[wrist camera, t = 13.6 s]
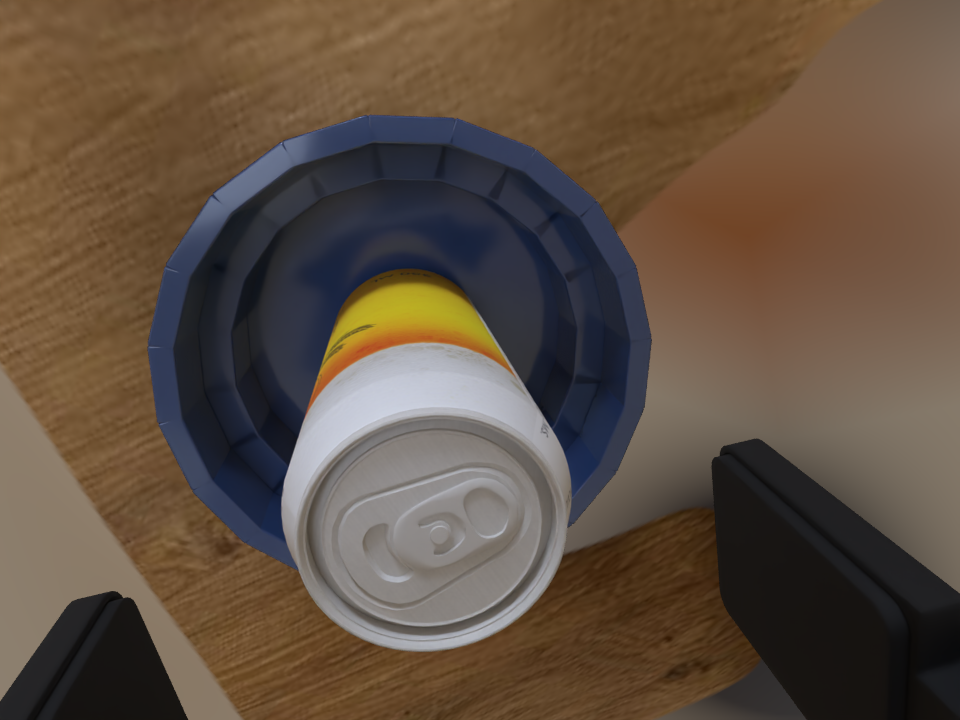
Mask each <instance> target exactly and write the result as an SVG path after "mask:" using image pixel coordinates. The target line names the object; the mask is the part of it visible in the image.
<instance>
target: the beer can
mask: <svg viewBox="0 0 960 720" xmlns="http://www.w3.org/2000/svg"><path fill="white" fill-rule="evenodd" d="M571 496H572V490H571V477H570V472H569V468H568V463H567V460H566V457H565V454H564V451H563V449H562V447H561V445H560V443H559V441H558V439H557V437H556V435H555V434H554V432H553V430H552V429H551V427H550V426H549V424H548V422H547V421H546V419H545V418H544V416H543V414H542V413H541V411H540V410H539V408H538V406H537V405H536V403H535V402H534V400H533V398H532V397H531V395H530V394H529V392H528V390H527V389H526V387H525V386H524V384H523V383H522V381H521V379H520V378H519V376H518V375H517V373H516V371H515V370H514V368H513V367H512V365H511V363H510V362H509V360H508V359H507V357H506V355H505V354H504V352H503V351H502V349H501V347H500V346H499V344H498V343H497V341H496V339H495V338H494V336H493V335H492V333H491V331H490V330H489V328H488V327H487V325H486V323H485V322H484V320H483V319H482V317H481V315H480V314H479V312H478V311H477V309H476V307H475V306H474V304H473V303H472V301H471V300H470V298H469V297H468V296H467V295H466V294H465V292H464V291H463V290H462V289H460V288H459V287H458V286H457V285H456V284H454V283H453V282H452V281H450V280H448V279H447V278H445V277H443V276H441V275H438V274H436V273H433V272H430V271H426V270H420V269H397V270H391V271H387V272H384V273H381V274H379V275H376V276H374V277H372V278H370V279H369V280H367V281H365V282H364V283H363V284H361V285H360V286H359V287H357V288H356V289H355V290H354V291H353V292H352V293H351V294H350V296H349V297H348V298H347V299H346V301H345V302H344V304H343V306H342V307H341V309H340V311H339V313H338V315H337V318H336V321H335V325H334V328H333V331H332V334H331V337H330V340H329V343H328V346H327V349H326V353H325V356H324V359H323V362H322V365H321V368H320V371H319V374H318V377H317V381H316V384H315V387H314V390H313V393H312V396H311V399H310V402H309V405H308V409H307V412H306V415H305V418H304V421H303V424H302V427H301V430H300V433H299V437H298V440H297V443H296V446H295V449H294V452H293V455H292V458H291V461H290V465H289V468H288V471H287V474H286V477H285V480H284V486H283V492H282V502H281V515H282V526H283V531H284V535H285V539H286V543H287V545H288V548H289V551H290V553H291V556H292V558H293V559H294V561H295V563H296V565H297V567H298V570H299V572H300V575H301V578H302V580H303V583H304V585H305V587H306V588H307V590H308V592H309V594H310V596H311V597H312V599H313V600H314V601H315V603H316V604H317V605H318V607H319V608H320V609H321V610H322V611H323V612H324V613H325V614H326V615H327V616H328V617H329V618H330V619H331V620H332V621H334V622H335V623H336V624H337V625H338V626H340V627H341V628H343V629H344V630H346V631H347V632H349V633H351V634H352V635H354V636H356V637H358V638H360V639H362V640H364V641H367V642H370V643H373V644H375V645H378V646H382V647H386V648H390V649H395V650H402V651H413V652H430V651H441V650H448V649H454V648H458V647H462V646H466V645H469V644H472V643H475V642H478V641H480V640H483V639H485V638H487V637H489V636H492V635H494V634H495V633H497V632H499V631H501V630H502V629H504V628H506V627H507V626H509V625H510V624H512V623H513V622H514V621H516V620H517V619H519V618H520V617H521V616H522V615H523V614H524V613H525V612H527V611H528V610H529V609H530V608H531V607H532V606H533V605H534V604H535V602H536V601H537V600H538V599H539V598H540V597H541V595H542V594H543V593H544V591H545V590H546V589H547V587H548V586H549V584H550V582H551V581H552V579H553V577H554V576H555V573H556V571H557V569H558V567H559V565H560V562H561V559H562V556H563V552H564V549H565V543H566V538H567V524H568V520H569V515H570V509H571Z"/></svg>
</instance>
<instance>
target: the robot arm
mask: <svg viewBox="0 0 960 720" xmlns="http://www.w3.org/2000/svg"><path fill="white" fill-rule="evenodd" d="M712 480H713V495H714V510H715V525H716V540H717V555H718V570H719V584H720V593H721V597H722V600H723V603H724V606H725V608H726V610H727V611H728V613H729V615H730V616H731V617H732V619H733V620H734V621H735V623H736V624H737V625H738V627H739V628H740V630H741V631H742V632H743V634H744V635H745V636H746V638H747V639H748V640H749V642H750V643H751V644H752V646H753V647H754V649H755V650H756V651H757V653H758V654H759V655H760V657H761V658H762V659H763V661H764V662H765V663H766V665H767V666H768V668H769V669H770V670H771V672H772V673H773V674H774V676H775V677H776V678H777V680H778V681H779V682H780V684H781V685H782V686H783V688H784V689H785V690H786V692H787V693H788V695H789V696H790V697H791V699H792V700H793V701H794V703H795V704H796V705H797V707H798V708H799V710H800V711H801V712H802V714H803V715H804V716H805V718H806V719H807V720H960V593H958V592H957V591H956V590H954V589H953V588H952V587H951V586H949V585H948V584H947V583H945V582H944V581H943V580H942V579H940V578H939V577H938V576H936V575H935V574H934V573H932V572H931V571H930V570H929V569H927V568H926V567H925V566H923V565H922V564H921V563H919V562H918V561H917V560H916V559H914V558H913V557H912V556H910V555H909V554H908V553H906V552H905V551H904V550H903V549H901V548H900V547H899V546H897V545H896V544H895V543H894V542H892V541H891V540H890V539H888V538H887V537H886V536H884V535H883V534H882V533H881V532H880V531H878V530H877V529H875V528H874V527H873V526H872V525H870V524H869V523H868V522H867V521H865V520H864V519H863V518H861V517H860V516H859V515H858V514H856V513H855V512H854V511H852V510H851V509H850V508H848V507H847V506H846V505H845V504H843V503H842V502H841V501H839V500H838V499H837V498H836V497H834V496H833V495H832V494H830V493H829V492H828V491H826V490H825V489H824V488H823V487H821V486H820V485H819V484H818V483H816V482H815V481H814V480H812V479H811V478H810V477H808V476H807V475H806V474H804V473H803V472H802V471H801V470H799V469H798V468H797V467H796V466H794V465H793V464H791V463H790V462H789V461H788V460H786V459H785V458H784V457H783V456H781V455H780V454H779V453H777V452H776V451H775V450H774V449H772V448H771V447H770V446H768V445H767V444H766V443H765V442H763V441H762V440H760V439H752V440H748V441H744V442H739V443H735V444H731V445H727V446H723V447H722V448H721V451H720V456H719V457H715V458H714V459H713V460H712ZM0 720H188V718H187V716H186V714H185V712H184V710H183V707H182V705H181V703H180V701H179V699H178V696H177V694H176V692H175V690H174V687H173V685H172V683H171V681H170V679H169V676H168V674H167V673H166V670H165V668H164V666H163V663H162V661H161V659H160V656H159V654H158V652H157V650H156V648H155V645H154V643H153V641H152V639H151V636H150V634H149V632H148V630H147V628H146V626H145V623H144V621H143V619H142V617H141V614H140V612H139V610H138V608H137V606H136V604H135V602H134V601H133V600H132V599H131V598H128V597H127V598H123V597H122V595H120V594H119V593H118V592H115V591H110V592H106V593H102V594H98V595H94V596H89V597H85V598H81V599H77V600H74V601H72V602H71V603H70V604H69V605H68V606H67V607H66V609H65V610H64V612H63V613H62V614H61V616H60V617H59V619H58V620H57V621H56V623H55V624H54V626H53V627H52V629H51V630H50V631H49V633H48V634H47V636H46V637H45V639H44V640H43V641H42V643H41V644H40V646H39V647H38V648H37V650H36V651H35V653H34V654H33V656H32V657H31V658H30V660H29V661H28V663H27V664H26V665H25V667H24V668H23V670H22V671H21V673H20V674H19V676H18V677H17V678H16V680H15V681H14V683H13V684H12V686H11V687H10V688H9V690H8V691H7V693H6V694H5V696H4V697H3V698H2V700H1V701H0Z"/></svg>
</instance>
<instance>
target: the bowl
mask: <svg viewBox="0 0 960 720" xmlns="http://www.w3.org/2000/svg"><path fill="white" fill-rule="evenodd" d="M397 269H420V270H426V271H430V272H433V273H436V274H438V275H441V276H443V277H445V278H447V279H448V280H450V281H452V282H453V283H454V284H456V285H457V286H458V287H459V288H460V289H462V290H463V291H464V292H465V294H466V295H467V296H468V297H469V298H470V300H471V301H472V303H473V304H474V306H475V307H476V309H477V311H478V312H479V314H480V315H481V317H482V319H483V320H484V322H485V323H486V325H487V327H488V328H489V330H490V331H491V333H492V335H493V336H494V338H495V339H496V341H497V343H498V344H499V346H500V347H501V349H502V351H503V352H504V354H505V355H506V357H507V359H508V360H509V362H510V363H511V365H512V367H513V368H514V370H515V371H516V373H517V375H518V376H519V378H520V379H521V381H522V383H523V384H524V386H525V387H526V389H527V390H528V392H529V394H530V395H531V397H532V398H533V400H534V402H535V403H536V405H537V406H538V408H539V410H540V411H541V413H542V414H543V416H544V418H545V419H546V421H547V422H548V424H549V426H550V427H551V429H552V430H553V432H554V434H555V435H556V437H557V439H558V441H559V443H560V445H561V447H562V449H563V451H564V454H565V457H566V460H567V463H568V468H569V472H570V477H571V490H572V496H571V509H570V515H569V520H568V524H567V528H568V527H570V526H571V525H572V524H574V522H575V521H576V520H577V519H578V518H579V517H580V515H581V514H582V513H583V512H584V511H585V509H586V508H587V507H588V506H589V505H590V503H591V502H592V501H593V500H594V499H595V497H596V496H597V495H598V494H599V493H600V492H601V490H602V489H603V488H604V487H605V485H606V484H607V483H608V482H609V481H610V480H611V478H612V477H613V476H614V475H615V473H616V471H617V470H618V468H619V466H620V463H621V461H622V459H623V457H624V454H625V452H626V450H627V447H628V445H629V443H630V440H631V438H632V436H633V433H634V431H635V429H636V426H637V424H638V422H639V419H640V417H641V415H642V413H643V410H644V409H643V408H644V407H645V397H646V389H647V378H648V370H649V360H650V351H651V341H652V339H651V333H650V328H649V323H648V319H647V314H646V310H645V305H644V300H643V296H642V291H641V286H640V282H639V277H638V272H637V268H636V265H635V263H634V261H633V260H632V258H631V256H630V255H629V253H628V252H627V250H626V248H625V246H624V245H623V243H622V241H621V240H620V238H619V236H618V235H617V233H616V231H615V230H614V228H613V226H612V225H611V223H610V221H609V220H608V218H607V216H606V214H605V213H604V211H603V209H602V208H601V206H600V204H599V203H598V202H597V201H596V199H594V198H593V197H592V196H591V195H590V194H588V193H587V192H586V191H585V190H584V189H583V188H581V187H580V186H579V185H578V184H577V183H575V182H574V181H573V180H572V179H571V178H570V177H568V176H567V175H566V174H565V173H564V172H562V171H561V170H560V169H559V168H558V167H556V166H555V165H554V164H553V163H552V162H551V161H549V160H548V159H547V158H546V157H545V156H543V155H542V154H541V153H540V152H539V151H538V150H535V149H534V148H533V147H530V146H527V145H525V144H522V143H520V142H517V141H515V140H512V139H509V138H507V137H504V136H502V135H499V134H496V133H494V132H491V131H489V130H486V129H483V128H481V127H478V126H476V125H473V124H470V123H468V122H465V121H463V120H460V119H458V118H457V119H454V118H445V117H418V116H390V115H369V116H367V115H364V116H361V117H358V118H355V119H351V120H348V121H345V122H342V123H339V124H335V125H332V126H329V127H326V128H322V129H319V130H316V131H313V132H309V133H306V134H303V135H300V136H296V137H293V138H290V139H287V140H284V141H283V142H280V143H279V144H277V145H276V146H275V147H273V148H272V149H271V150H269V151H268V152H267V153H265V154H264V155H263V156H261V157H260V158H259V159H257V160H256V161H255V162H253V163H252V164H251V165H249V166H248V167H247V168H245V169H244V170H243V171H241V172H240V173H239V174H237V175H236V176H235V177H233V178H232V179H231V180H229V181H228V182H227V183H225V184H224V185H223V186H221V187H220V188H219V189H217V190H216V191H215V192H213V195H211V196H210V197H209V198H208V200H207V201H206V203H205V205H204V206H203V208H202V209H201V211H200V212H199V214H198V215H197V217H196V218H195V220H194V221H193V223H192V225H191V226H190V228H189V229H188V231H187V232H186V234H185V235H184V237H183V238H182V240H181V241H180V243H179V245H178V246H177V248H176V249H175V251H174V252H173V254H172V255H171V257H170V258H169V260H168V261H167V263H166V267H165V268H164V272H163V276H162V281H161V285H160V290H159V294H158V299H157V303H156V308H155V312H154V317H153V321H152V326H151V330H150V335H149V339H148V347H147V348H148V356H149V363H150V371H151V378H152V385H153V393H154V400H155V408H156V415H157V422H158V423H159V427H160V429H161V431H162V433H163V435H164V437H165V439H166V440H167V442H168V444H169V446H170V448H171V450H172V452H173V454H174V456H175V458H176V460H177V462H178V464H179V466H180V468H181V470H182V472H183V474H184V476H185V478H186V480H187V481H188V483H189V485H190V487H191V489H192V490H193V493H194V494H195V495H196V496H197V497H198V498H199V499H200V500H201V501H202V502H203V503H204V504H205V505H206V506H207V507H208V508H209V509H210V510H211V511H212V512H213V513H214V514H215V515H216V516H217V517H219V518H220V519H221V520H222V521H223V522H224V523H225V524H226V525H227V526H228V527H229V528H230V529H231V530H232V531H233V532H234V533H235V534H236V535H237V536H238V537H239V538H240V539H241V540H242V541H243V542H244V543H247V544H248V545H250V546H252V547H254V548H255V549H257V550H259V551H261V552H263V553H265V554H267V555H269V556H271V557H273V558H275V559H277V560H279V561H280V562H282V563H284V564H286V565H288V566H290V567H292V568H294V569H296V570H298V567H297V565H296V563H295V561H294V559H293V558H292V556H291V553H290V551H289V548H288V545H287V543H286V539H285V535H284V531H283V526H282V515H281V502H282V492H283V486H284V480H285V477H286V474H287V471H288V468H289V465H290V461H291V458H292V455H293V452H294V449H295V446H296V443H297V440H298V437H299V433H300V430H301V427H302V424H303V421H304V418H305V415H306V412H307V409H308V405H309V402H310V399H311V396H312V393H313V390H314V387H315V384H316V381H317V377H318V374H319V371H320V368H321V365H322V362H323V359H324V356H325V353H326V349H327V346H328V343H329V340H330V337H331V334H332V331H333V328H334V325H335V321H336V318H337V315H338V313H339V311H340V309H341V307H342V306H343V304H344V302H345V301H346V299H347V298H348V297H349V296H350V294H351V293H352V292H353V291H354V290H355V289H356V288H357V287H359V286H360V285H361V284H363V283H364V282H365V281H367V280H369V279H370V278H372V277H374V276H376V275H379V274H381V273H384V272H387V271H391V270H397ZM298 571H299V570H298Z"/></svg>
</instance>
